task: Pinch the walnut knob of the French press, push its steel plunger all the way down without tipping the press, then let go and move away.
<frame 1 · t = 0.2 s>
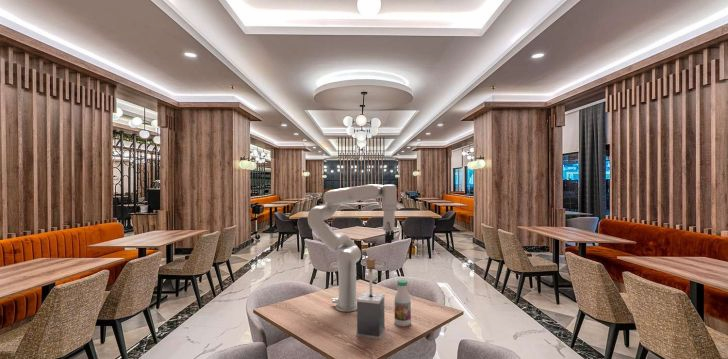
hand: (389, 241, 162), 37 cm above the table, tool pointing down, fingers open, 9 cm apart
milk bottle: (402, 323, 148), on the table
plunger: (370, 281, 140), point 22 cm above the table, slide at 0.0 cm
press: (371, 332, 140), on the table
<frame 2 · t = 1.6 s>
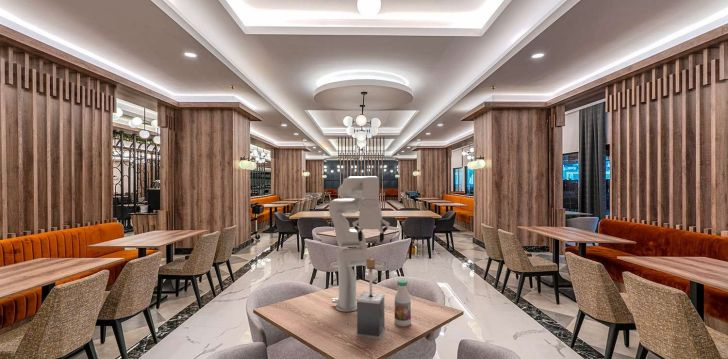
hand: (370, 241, 140), 41 cm above the table, tool pointing down, fingers open, 9 cm apart
nothing on the table moved.
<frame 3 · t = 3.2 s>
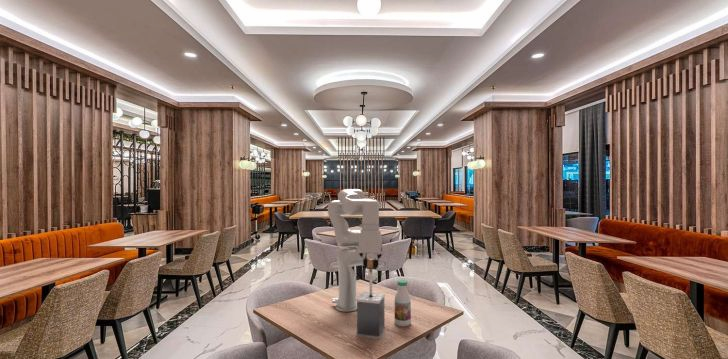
hand: (370, 267, 140), 29 cm above the table, tool pointing down, fingers closed on plunger, 4 cm apart
plunger: (370, 281, 140), point 22 cm above the table, slide at 0.0 cm, touching gripper
everything else where it was.
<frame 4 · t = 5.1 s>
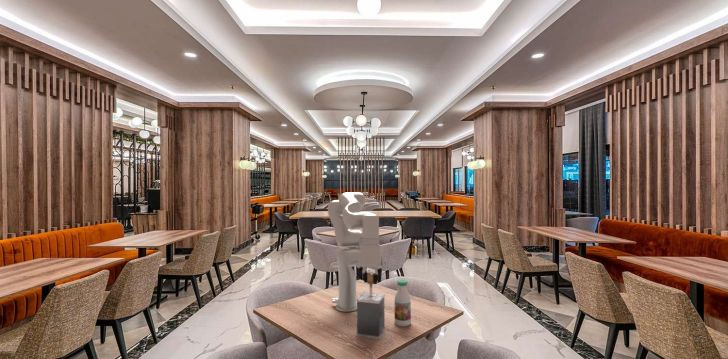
hand: (370, 281, 140), 22 cm above the table, tool pointing down, fingers closed on plunger, 4 cm apart
plunger: (370, 296, 140), point 16 cm above the table, slide at 6.4 cm, touching gripper
everything else where it was.
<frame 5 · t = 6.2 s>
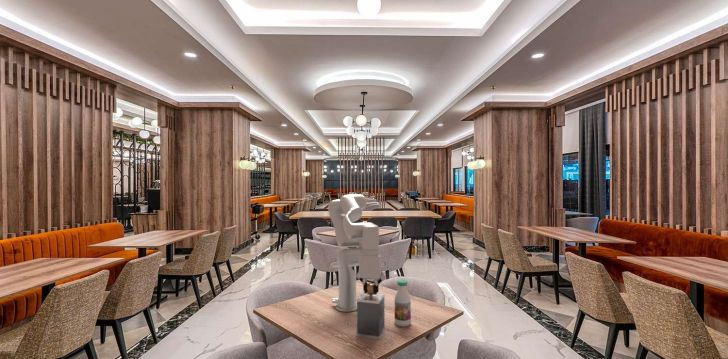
hand: (370, 292, 140), 18 cm above the table, tool pointing down, fingers closed on plunger, 4 cm apart
plunger: (371, 306, 140), point 11 cm above the table, slide at 11.3 cm, touching gripper
everything else where it was.
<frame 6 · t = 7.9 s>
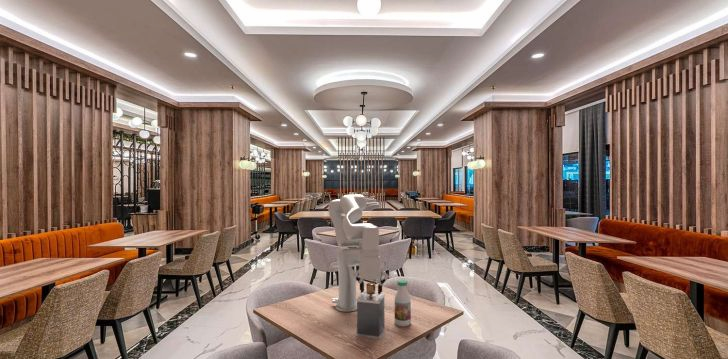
hand: (370, 292, 140), 18 cm above the table, tool pointing down, fingers open, 7 cm apart
plunger: (371, 306, 140), point 11 cm above the table, slide at 11.1 cm
everything else where it was.
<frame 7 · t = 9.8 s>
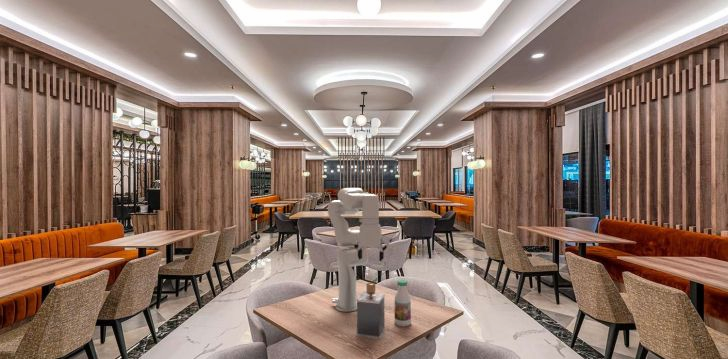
hand: (370, 259, 141), 32 cm above the table, tool pointing down, fingers open, 9 cm apart
nothing on the table moved.
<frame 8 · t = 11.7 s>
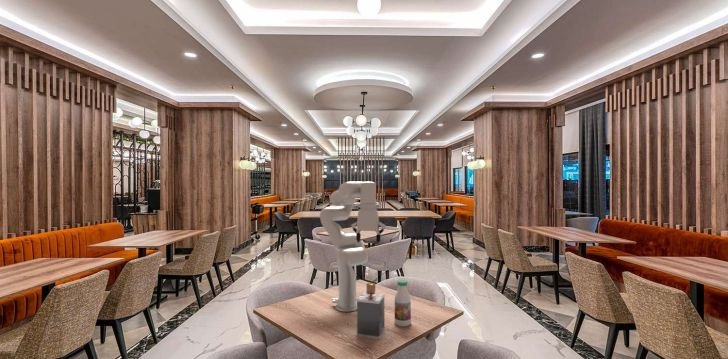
hand: (368, 242, 151), 38 cm above the table, tool pointing down, fingers open, 9 cm apart
nothing on the table moved.
at the end: plunger slide at 11.1 cm; press tilted 0°; press moved 0.1 cm from its start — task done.
